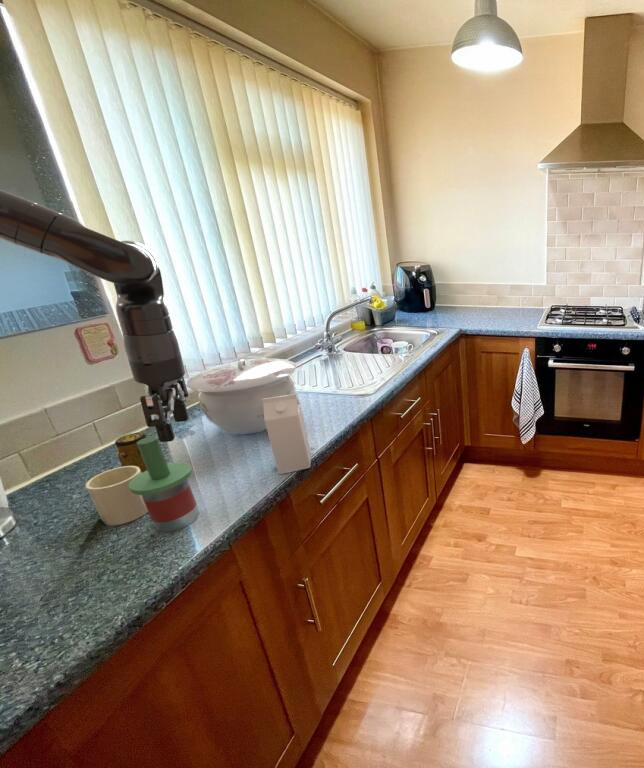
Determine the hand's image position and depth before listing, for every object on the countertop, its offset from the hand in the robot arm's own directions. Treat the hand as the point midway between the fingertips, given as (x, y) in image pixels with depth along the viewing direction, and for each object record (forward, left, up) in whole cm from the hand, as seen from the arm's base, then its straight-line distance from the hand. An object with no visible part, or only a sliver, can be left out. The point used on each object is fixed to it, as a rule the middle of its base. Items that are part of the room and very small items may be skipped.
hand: (175, 430), depth 81 cm
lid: (-3, -4, -8) cm, 10 cm away
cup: (-13, +4, -18) cm, 23 cm away
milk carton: (+19, +8, -19) cm, 28 cm away
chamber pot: (+9, +39, -19) cm, 44 cm away
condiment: (-12, +16, -19) cm, 28 cm away
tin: (-3, -4, -18) cm, 19 cm away
